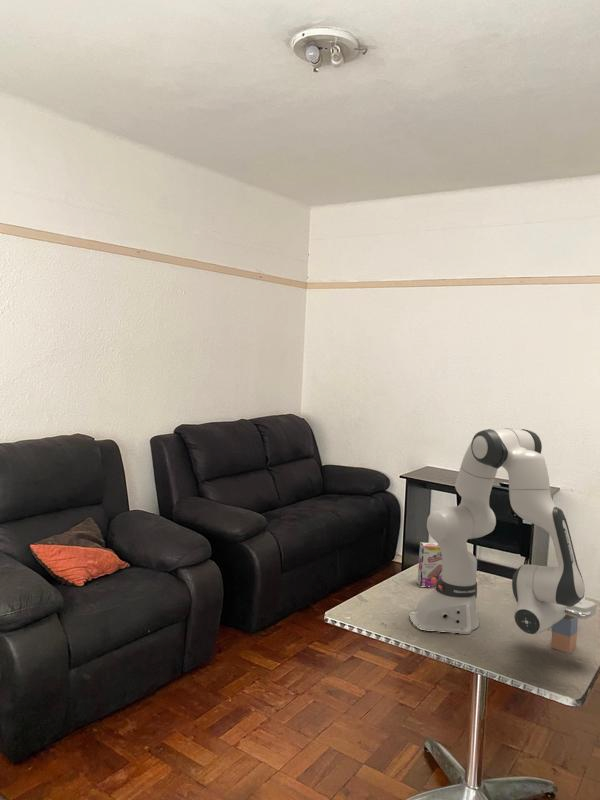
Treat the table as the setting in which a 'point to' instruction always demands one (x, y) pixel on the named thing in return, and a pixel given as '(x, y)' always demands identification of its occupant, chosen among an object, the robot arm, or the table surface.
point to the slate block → (566, 626)
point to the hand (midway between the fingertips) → (567, 594)
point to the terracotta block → (563, 642)
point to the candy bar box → (429, 563)
